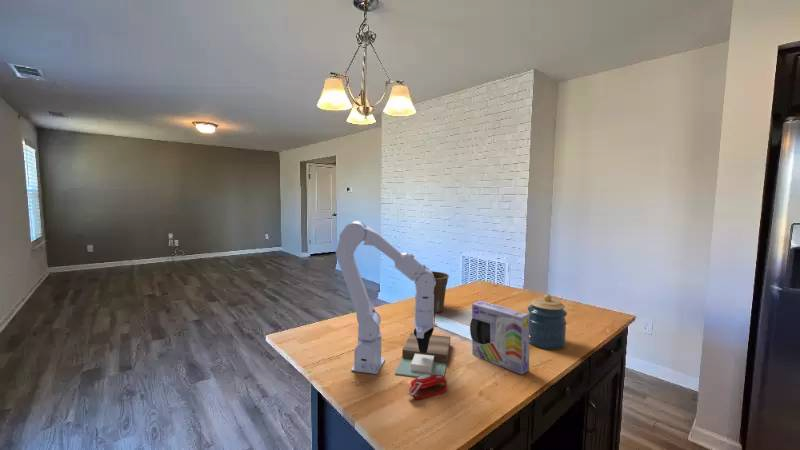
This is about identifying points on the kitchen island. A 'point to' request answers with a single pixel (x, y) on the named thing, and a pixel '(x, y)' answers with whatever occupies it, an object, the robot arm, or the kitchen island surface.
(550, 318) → the canister
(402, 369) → the mat
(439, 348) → the board
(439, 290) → the plant pot
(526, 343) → the cake pan box
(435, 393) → the tracker holder
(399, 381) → the kitchen island surface
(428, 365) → the tile
